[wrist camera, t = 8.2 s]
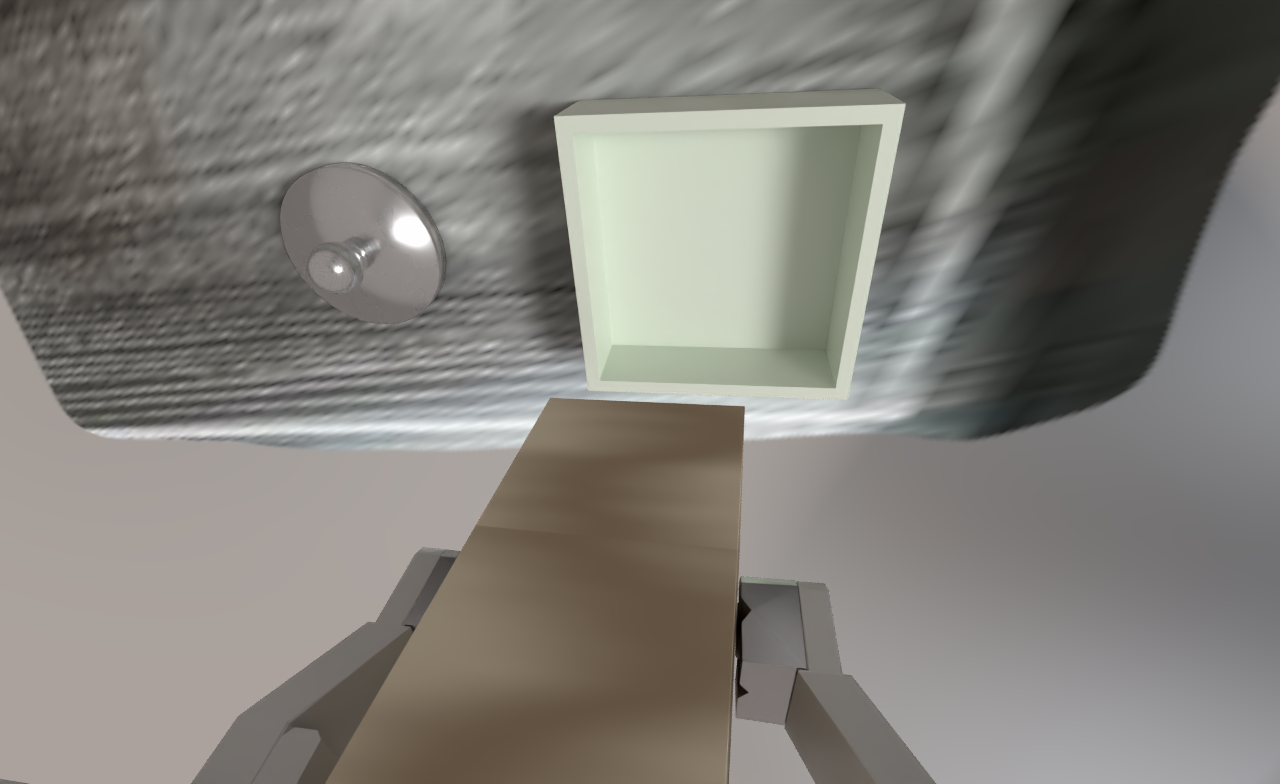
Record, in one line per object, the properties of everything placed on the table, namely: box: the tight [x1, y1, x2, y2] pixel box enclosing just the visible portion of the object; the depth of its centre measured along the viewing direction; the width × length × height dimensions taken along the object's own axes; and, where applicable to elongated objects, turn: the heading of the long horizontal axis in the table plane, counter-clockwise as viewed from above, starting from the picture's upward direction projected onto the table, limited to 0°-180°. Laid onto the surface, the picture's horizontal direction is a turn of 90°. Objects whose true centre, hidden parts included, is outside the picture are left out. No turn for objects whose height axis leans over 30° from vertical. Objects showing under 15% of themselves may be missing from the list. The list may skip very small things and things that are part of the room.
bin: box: [554, 89, 906, 400], centre depth 24 cm, size 12×12×4 cm
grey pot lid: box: [280, 163, 446, 324], centre depth 27 cm, size 8×8×4 cm
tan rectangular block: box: [325, 398, 745, 784], centre depth 10 cm, size 4×4×9 cm
